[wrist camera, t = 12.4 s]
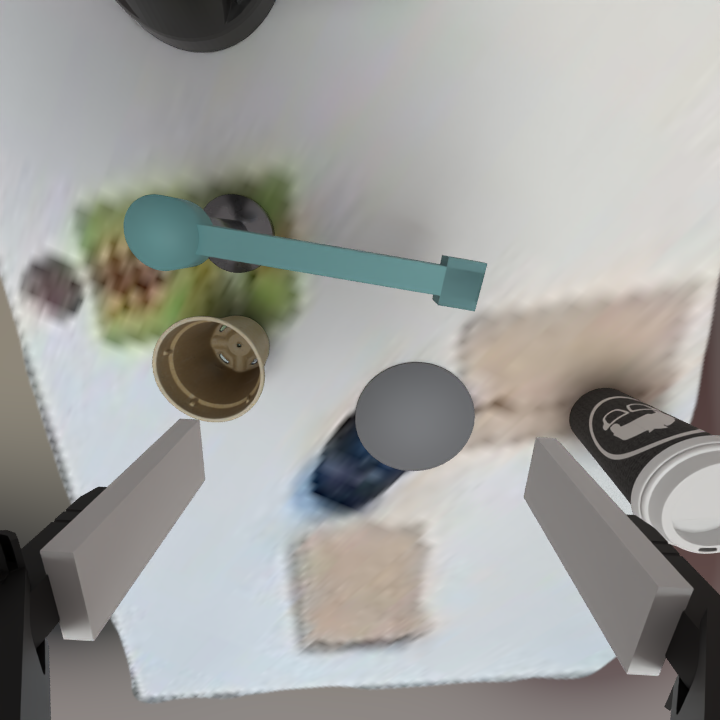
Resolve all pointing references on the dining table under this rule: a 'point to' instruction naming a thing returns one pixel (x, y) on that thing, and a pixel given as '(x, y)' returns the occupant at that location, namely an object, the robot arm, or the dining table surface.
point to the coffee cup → (655, 465)
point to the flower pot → (211, 366)
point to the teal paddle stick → (286, 253)
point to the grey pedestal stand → (238, 223)
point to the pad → (414, 416)
